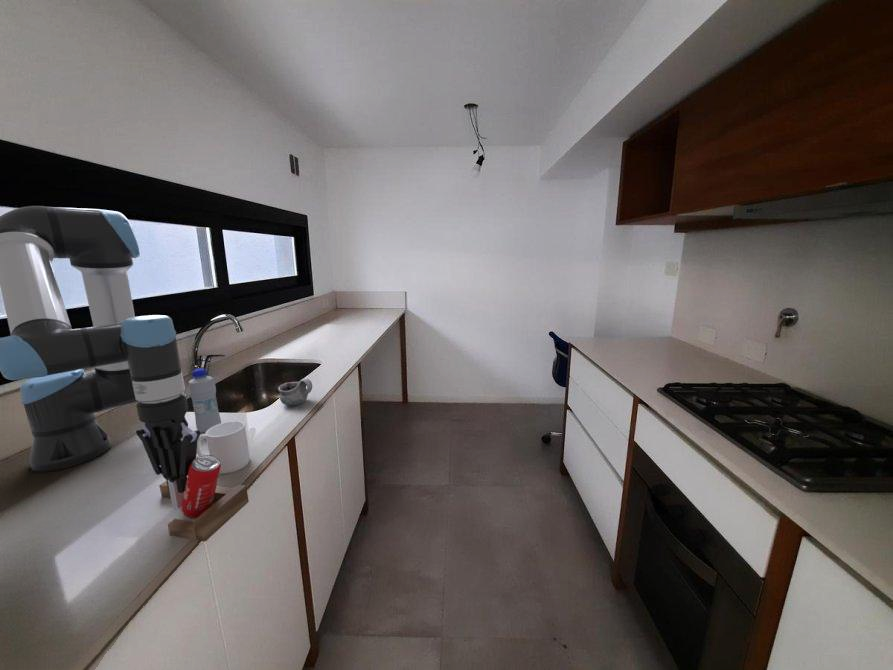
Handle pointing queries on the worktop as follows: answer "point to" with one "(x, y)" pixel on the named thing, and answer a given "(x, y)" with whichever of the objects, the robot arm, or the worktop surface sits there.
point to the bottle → (204, 400)
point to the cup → (227, 445)
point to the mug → (295, 392)
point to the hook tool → (209, 513)
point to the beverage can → (200, 485)
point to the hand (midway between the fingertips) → (181, 504)
